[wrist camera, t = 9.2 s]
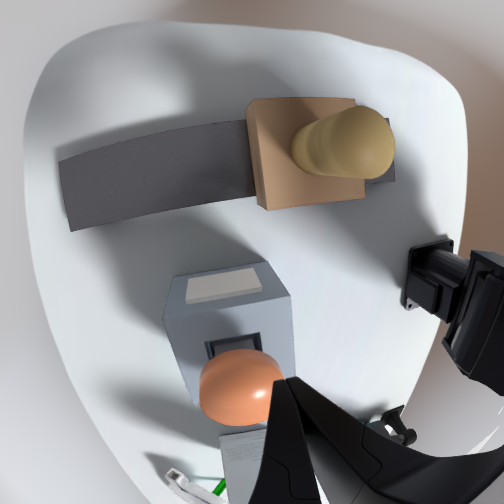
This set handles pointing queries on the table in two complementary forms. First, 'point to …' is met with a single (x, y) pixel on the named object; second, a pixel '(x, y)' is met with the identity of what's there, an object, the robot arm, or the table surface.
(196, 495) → the grey elongated part
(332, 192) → the carriage
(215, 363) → the button
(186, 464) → the table surface
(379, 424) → the surveillance camera
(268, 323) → the cabinet
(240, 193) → the rail
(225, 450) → the skincare box
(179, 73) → the table surface
